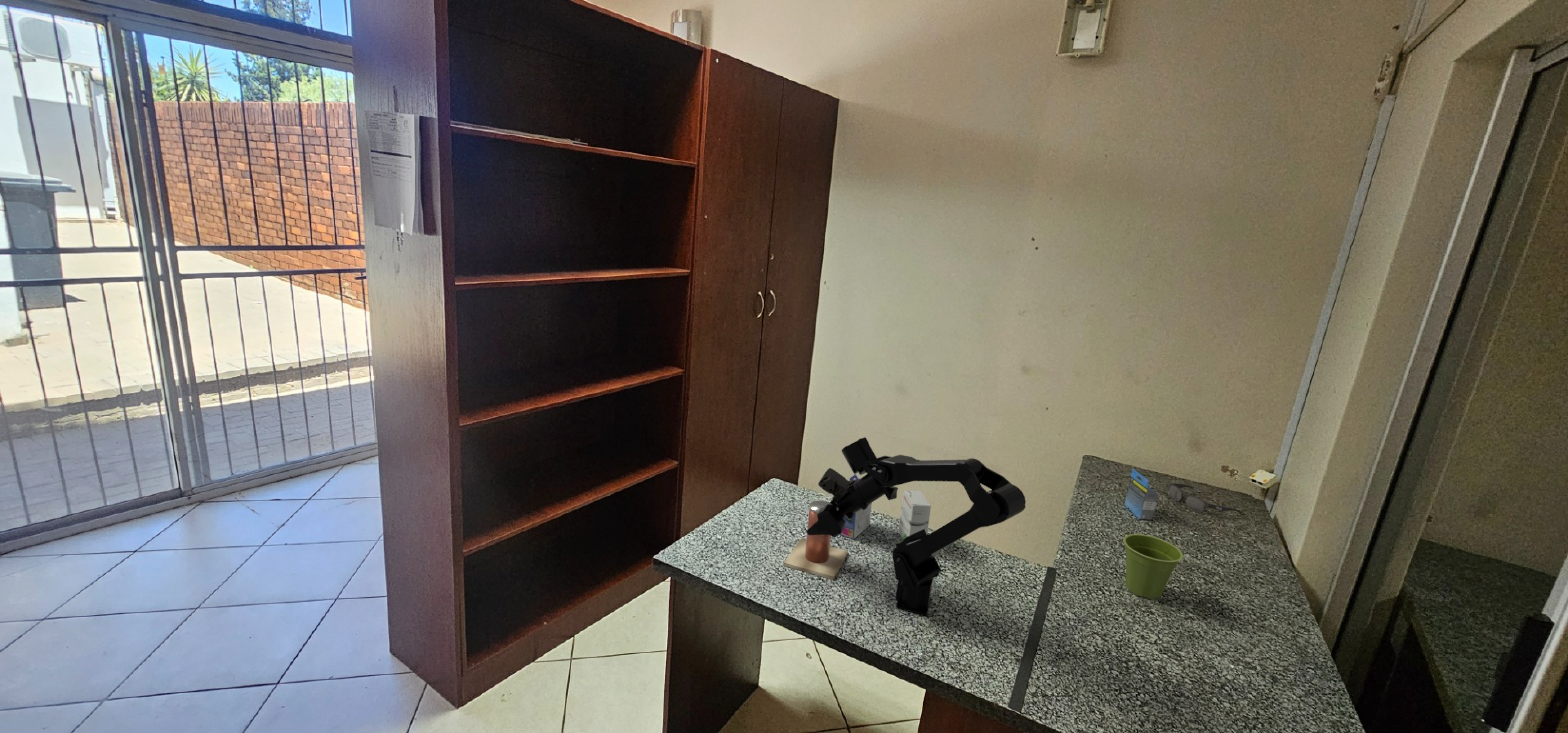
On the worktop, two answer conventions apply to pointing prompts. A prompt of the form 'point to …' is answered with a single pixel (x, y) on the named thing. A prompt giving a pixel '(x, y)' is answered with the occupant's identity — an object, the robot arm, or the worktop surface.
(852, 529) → the ink cartridge box
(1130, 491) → the label tape cartridge
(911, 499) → the ink box
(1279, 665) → the worktop surface
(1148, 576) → the plant pot
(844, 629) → the worktop surface
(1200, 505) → the sunglasses
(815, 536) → the tin
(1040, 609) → the worktop surface
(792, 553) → the coaster
